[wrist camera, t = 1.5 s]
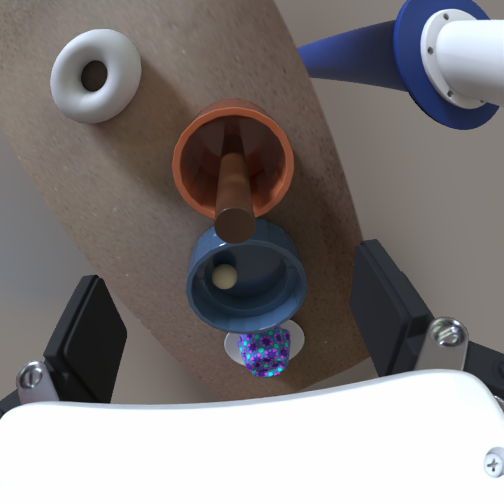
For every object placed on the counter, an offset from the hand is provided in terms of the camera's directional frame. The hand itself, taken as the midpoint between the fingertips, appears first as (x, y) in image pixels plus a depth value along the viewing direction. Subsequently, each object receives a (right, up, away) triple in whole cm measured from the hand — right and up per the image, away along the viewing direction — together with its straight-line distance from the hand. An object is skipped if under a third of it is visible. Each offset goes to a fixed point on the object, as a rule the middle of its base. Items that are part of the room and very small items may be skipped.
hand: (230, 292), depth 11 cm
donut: (-15, +19, +14) cm, 28 cm away
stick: (-1, +12, +19) cm, 23 cm away
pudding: (+3, -12, +35) cm, 38 cm away
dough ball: (-2, -2, +26) cm, 26 cm away
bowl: (0, 0, +28) cm, 28 cm away
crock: (-1, +12, +19) cm, 23 cm away
